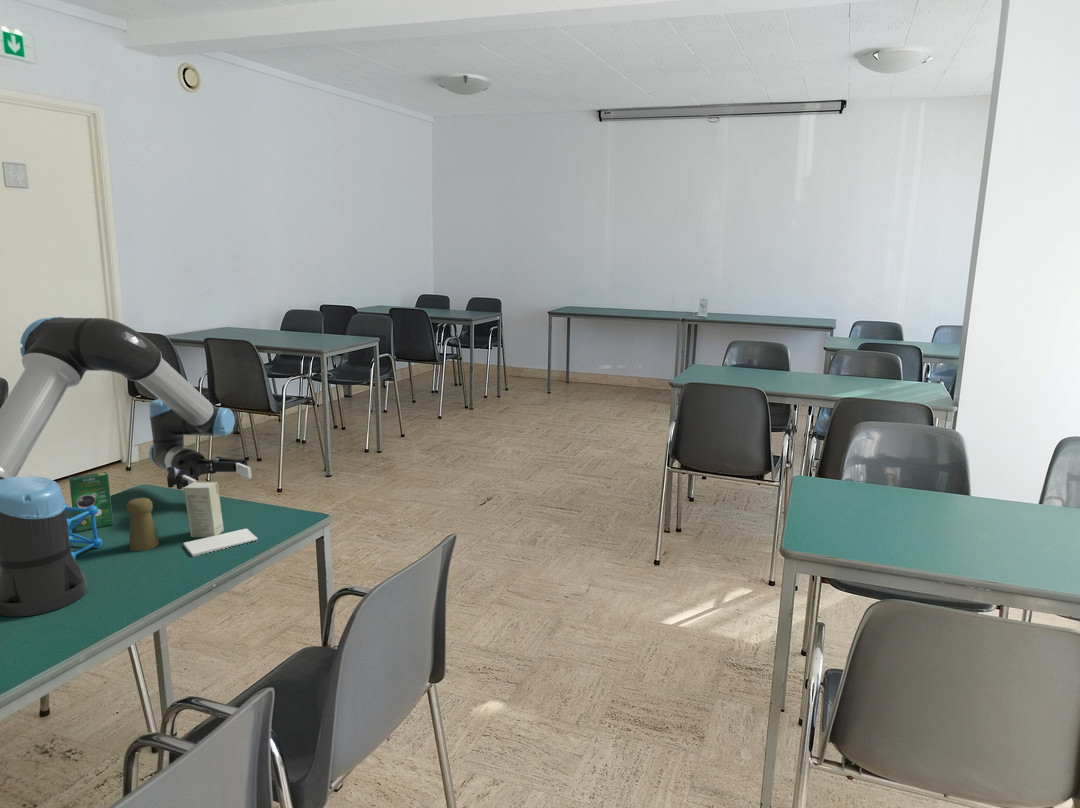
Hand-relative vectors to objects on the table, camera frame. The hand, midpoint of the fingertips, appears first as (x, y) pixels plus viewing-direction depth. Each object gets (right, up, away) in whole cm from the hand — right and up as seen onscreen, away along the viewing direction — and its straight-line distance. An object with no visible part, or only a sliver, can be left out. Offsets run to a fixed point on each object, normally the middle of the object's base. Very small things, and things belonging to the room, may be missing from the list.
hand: (223, 479), depth 185 cm
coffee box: (-30, -11, -3) cm, 32 cm away
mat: (+5, -13, -13) cm, 19 cm away
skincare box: (-1, -12, -8) cm, 14 cm away
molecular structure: (-27, -15, -18) cm, 35 cm away
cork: (-12, -14, -14) cm, 23 cm away
